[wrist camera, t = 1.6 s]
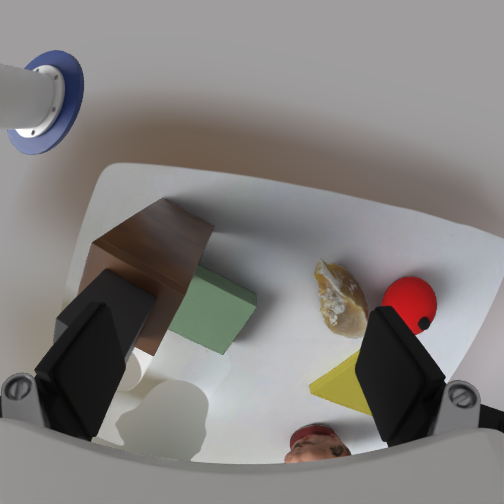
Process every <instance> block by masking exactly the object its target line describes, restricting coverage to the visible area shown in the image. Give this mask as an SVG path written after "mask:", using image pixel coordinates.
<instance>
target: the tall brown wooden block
mask: <svg viewBox="0 0 504 504" xmlns="http://www.w3.org/2000/svg"><path fill="white" fill-rule="evenodd" d="M213 228H214V225H212V224H210V223H208V222H206V221H205V220H203V219H201V218H199V217H197V216H195V215H194V214H192V213H190V212H188V211H186V210H184V209H183V208H181V207H179V206H177V205H175V204H173V203H171V202H170V201H168V200H166V199H164V198H161V199H159V200H158V201H156V202H154V203H153V204H151V205H149V206H148V207H146V208H145V209H143V210H141V211H140V212H138V213H136V214H135V215H133V216H132V217H130V218H129V219H127V220H125V221H124V222H122V223H121V224H119V225H118V226H116V227H115V228H113V229H112V230H110V231H109V232H107V233H106V234H104V235H103V236H101V237H100V238H98V239H96V240H95V241H93V242H92V243H91V246H90V250H89V253H88V256H87V260H86V263H85V267H84V271H83V274H82V278H81V282H80V286H79V290H78V294H77V296H78V295H79V294H80V293H81V292H82V291H83V290H84V289H85V288H86V287H87V286H88V285H89V284H90V283H91V282H92V281H93V280H94V279H95V278H96V277H97V276H98V275H99V274H100V273H101V272H102V271H103V270H104V269H108V270H109V271H111V272H113V273H114V274H116V275H118V276H120V277H121V278H123V279H125V280H127V281H128V282H130V283H132V284H134V285H135V286H137V287H139V288H141V289H143V290H144V291H146V292H148V293H150V294H152V295H153V296H155V297H157V299H156V301H155V304H154V306H153V308H152V310H151V312H150V315H149V317H148V319H147V321H146V323H145V326H144V328H143V330H142V333H141V335H140V337H139V339H138V341H137V343H136V345H135V347H136V348H138V349H140V350H142V351H144V352H146V353H148V354H150V355H152V356H154V355H155V353H156V351H157V349H158V347H159V345H160V343H161V341H162V339H163V337H164V335H165V333H166V332H167V330H168V328H169V326H170V324H171V322H172V320H173V318H174V316H175V314H176V312H177V311H178V309H179V307H180V305H181V303H182V301H183V299H184V297H185V295H186V293H187V290H188V288H189V285H190V283H191V280H192V278H193V275H194V273H195V271H196V268H197V266H198V263H199V261H200V259H201V256H202V254H203V251H204V249H205V247H206V244H207V242H208V240H209V237H210V235H211V233H212V230H213Z"/></svg>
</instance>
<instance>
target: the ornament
mask: <svg viewBox="0 0 504 504" xmlns="http://www.w3.org/2000/svg"><path fill="white" fill-rule="evenodd" d="M382 306H392V307H393V308H394V309H395V310H396V312H397V313H398V314H399V315H400V317H401V318H402V319H403V320H404V322H405V323H406V324H407V325H408V327H409V328H410V329H411V331H412V332H413V333H414V334H415V335H417V334H419V333H421V332H423V331H424V330H426V329H428V328H429V326H430V324H431V323H432V321H433V319H434V317H435V314H436V310H437V300H436V296H435V293H434V291H433V289H432V288H431V286H430V285H429V284H428V283H427V282H426V281H424V280H422V279H420V278H417V277H404V278H401V279H399V280H397V281H395V282H394V283H393V284H392V285H391V286H390V287H389V288H388V289H387V291H386V292H385V294H384V296H383V299H382Z"/></svg>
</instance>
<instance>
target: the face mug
mask: <svg viewBox="0 0 504 504" xmlns="http://www.w3.org/2000/svg"><path fill="white" fill-rule="evenodd" d="M290 448H291V451H290V452H289V453H288V454H287V455H286V456H285V459H284V460H285V463H295V462H307V461H316V460H324V459H331V458H338V457H344V456H350V455H351V452H350V450H349V449H348V448H347V447H346V446H345V445H344V444H343V442H342V441H341V440H340V439H339V437H338V436H337V435H336V434H335V433H334V431H333V430H332V429H331V428H329V427H327V426H323V425H309V426H306V427H303V428H301V429H299V430H297V431H296V432H295V433H294V434H293V435H292V436H291V439H290Z"/></svg>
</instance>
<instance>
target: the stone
mask: <svg viewBox="0 0 504 504" xmlns="http://www.w3.org/2000/svg"><path fill="white" fill-rule="evenodd" d="M314 277H315V278H316V279H317V281H318V284H319V287H320V289H319V298H320V301H321V308H320V313H321V314H322V315H323V317H324V319H325V324H326V325H327V326H328V328H329V329H330V330H331V331H332V332H333V333H335V334H338V335H341V336H344V337H347V338H361V337H364V334H365V331H366V327H367V323H368V319H369V315H368V307H367V303H366V301H365V297H364V294H363V292H362V290H361V288H360V286H359V284H358V283H357V281H356V280H355V279H354V277H353V276H352V274H351V273H350V272H349V271H348V270H347V269H345V268H344V267H343V266H340V265H337V264H334V263H331V264H330V265H328V264H327V263H326V262H325V261H324V260H322V259H321V258H320V260H319V262H318V264H317V267H316V270H315V274H314Z"/></svg>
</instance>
